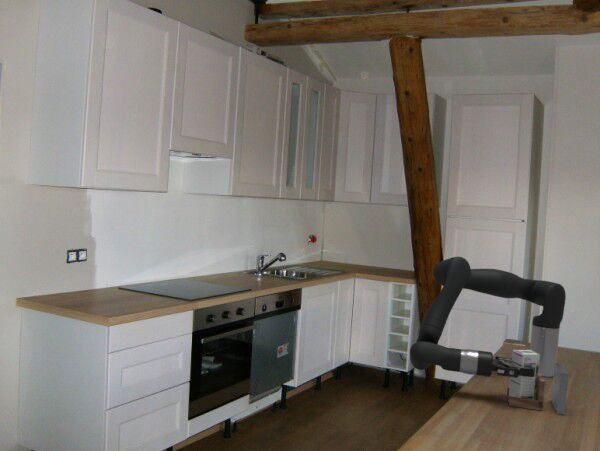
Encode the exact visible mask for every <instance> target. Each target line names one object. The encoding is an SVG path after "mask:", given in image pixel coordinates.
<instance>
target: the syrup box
mask: <svg viewBox="0 0 600 451" xmlns="http://www.w3.org/2000/svg"><path fill="white" fill-rule="evenodd" d="M511 358H512V364H514V366H516V367H519V368H526V369H533V370H534V376H533V377H526V376H518V378H515V377H509V379H510V380H509V387H508V388H509V396H511V397H518V398H525V399H532V400H536V393H537V381H538V370H539V359H540V354H538V353H536V352H534V351H531V350H530V349H512V354H511ZM513 372H514V371H513Z"/></svg>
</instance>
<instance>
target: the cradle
mask: <svg viewBox="0 0 600 451" xmlns="http://www.w3.org/2000/svg"><path fill="white" fill-rule="evenodd" d="M545 385H546V381H545V379H544V376H542V375H541V373H538V381H537V393H536V400H532V399H525V398H518V397H511V396H509V388H510V387H507V392H506V398H507V401H508V405H509V407H514V408H515V407H516V408H521V409H529V410H535V411H543V409H544V408H543V406H544V399H545V397H544V396H545V389H546V388H545Z"/></svg>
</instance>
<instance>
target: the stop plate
mask: <svg viewBox="0 0 600 451" xmlns="http://www.w3.org/2000/svg"><path fill="white" fill-rule="evenodd" d="M552 380H553V381H552V391H551V393H552V394H551V403H552V406H553V408H554V410H555V412H556V414H557V415H563V416H564V415H566V405H567V393H568V382H569V372H568V371H567V369H566V368H565V367H564V365H563V364H562V363H557V362H556V363H555V368H554V376H553V379H552Z"/></svg>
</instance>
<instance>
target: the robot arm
mask: <svg viewBox="0 0 600 451" xmlns="http://www.w3.org/2000/svg"><path fill="white" fill-rule="evenodd" d="M470 265H471V264H470V263H469V261H468V260H467V259H466V258H464V257H462V256H454V257H453V256H452V257H450V258H447V259H444V260H440V261H439V262H438V263H437V264H435V266H434V268H433V272H432V276H433V278H434V279H435V281H436V282H437V283H438V284H439V285H441V286H442V288H441V290H440V292H439V293H438V295H437V296H436V298H435V299H434V300H433V301H432V303H430V305H429V307H428V309H427V310H426V312H425V314H424V316H423V319H422V321H421V324H420V327H419V329H418V335H417V336H418V337H417V339H416V342H414V343H413V344H412V345H411V346H410V349H409V359H410V363H411V365H412V367H413V368H415V369H417V370H418V371H419V370H420V371H425V370H427V369H428V368H430V366H431V365H434V366H438V367H440V368H441V369H443V370H444V371H448V372H449V371H450V372H457V373H463V374H464V375H465V374H466V375H472V376H478V377H485V378H486V377H487V378H490V377H492V372H495V373H496V375H497V376H502V377H503V376H504V377H509V378H510V377H515V378H518V376H526V377H533V376H534V370H533V369H526V368H519V367H516V366H514V364H512V357H511V358H510V357H505V356H504V357H502V356H497V355H496V356H493V352H492V351H486V350H485V351H484V350H476V349H469V348H468V349H464V348H463V349H462V348H456V347H446V346H444V345H441V344H439V341H440V339H441V338H442V337H441V336H442V334H443V332H444V329H445V326H446V324H447V320H448V318H449V316H450V314H451V312H452V309H453V308H454V307H455V303H456V302H457V300H458V299H459V296H460V294H461V292H462V291H463V290H469V291H474V292H477V293H480V294H481V293H482V294H485V295H490V296H494V297H497V298H502V299H521V300H524V301H527V302H530V303H532V304H535V305H537V306H540V307H542V310H541V311H542V312H541V313H540V314H539V315H535V316H533V317H532V324H531V333H530V335H531V336H530V345H529V350H531V351H534V352H536V353H538V354H540V359H539V370H538V373H541V375H542V377H544V378H546V377H547V378H551V377H552V378H554V368H555V363H557V359H558V349H559V338H560V326H561V323H562V321H563V319H564V312H565V305H566V299H567V297H566V295H567V294H566V290H565V287H564V286H563V285H562V284H560V283H557V282H553V281H548V280H540V279H538V280H537V279H529V278H523V277H521V276H519V275H517V274H515V273H513V272H509V271H505V270H502V269H497V268H496V269H495V268H471V266H470ZM513 371H514V372H513Z"/></svg>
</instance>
